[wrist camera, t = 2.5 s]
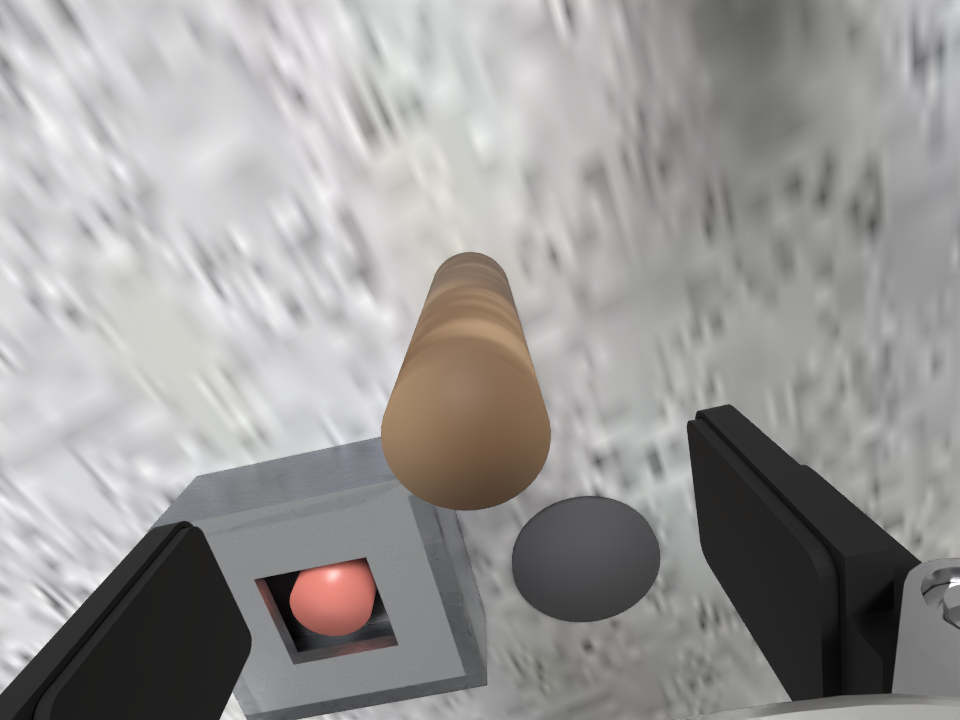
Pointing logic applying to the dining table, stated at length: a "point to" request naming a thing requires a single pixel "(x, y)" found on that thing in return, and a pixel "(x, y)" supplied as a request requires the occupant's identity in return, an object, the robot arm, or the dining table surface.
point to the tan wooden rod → (467, 395)
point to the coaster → (585, 559)
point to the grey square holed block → (332, 539)
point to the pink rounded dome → (334, 597)
